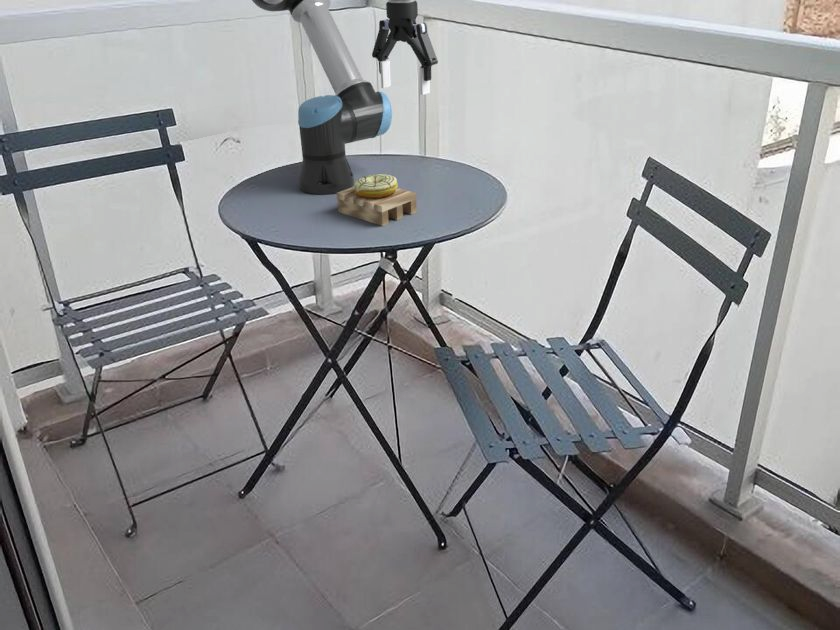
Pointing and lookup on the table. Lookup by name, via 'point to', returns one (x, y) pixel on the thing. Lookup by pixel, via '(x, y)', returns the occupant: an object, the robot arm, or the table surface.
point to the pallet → (377, 205)
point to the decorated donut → (376, 186)
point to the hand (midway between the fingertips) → (405, 90)
